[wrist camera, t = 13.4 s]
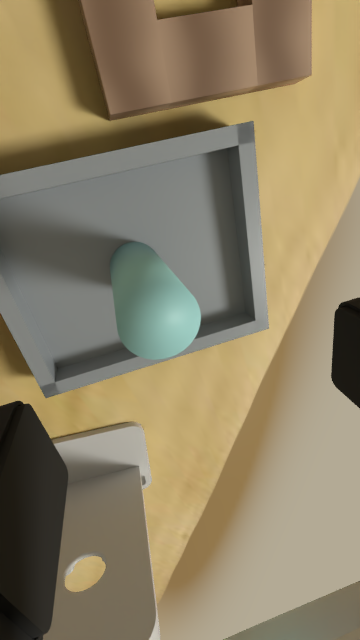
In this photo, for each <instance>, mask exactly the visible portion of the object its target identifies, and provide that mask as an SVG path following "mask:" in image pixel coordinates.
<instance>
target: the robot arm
mask: <svg viewBox="0 0 360 640" xmlns="http://www.w3.org/2000/svg"><path fill="white" fill-rule="evenodd" d="M331 378H332V381H333V383H334V385H335V386H336V387H337V388H338V389H339V390H340V391H341V392H342V393H343V394H344V395H345V396H347V397H348V398H349V399H350V400H351V401H352V402H353V403H354V404H355V405H357V406H358V407H359V408H360V298H356V299H352V300H349V301H346V302H343V303H341V304H340V305H339V308H338V309H337V310H336V311H335V318H334V339H333V356H332V373H331ZM67 486H68V470H67V466H66V464H65V463H64V461H63V459H62V457H61V456H60V454H59V452H58V451H57V449H56V447H55V445H54V444H53V442H52V440H51V439H50V437H49V435H48V434H47V432H46V430H45V428H44V427H43V425H42V423H41V422H40V420H39V418H38V416H37V415H36V413H35V411H34V410H33V408H32V406H31V405H30V404H23V402H21V401H16V402H12V403H9V404H6V405H2V406H0V640H43V635H44V634H46V633H48V631H49V630H50V627H51V623H52V616H53V608H54V599H55V590H56V582H57V573H58V564H59V555H60V547H61V538H62V529H63V520H64V512H65V503H66V494H67ZM223 640H360V581H358V582H356V583H354V584H351V585H349V586H347V587H344V588H342V589H340V590H337V591H335V592H333V593H330V594H328V595H326V596H323V597H321V598H319V599H316V600H314V601H312V602H309V603H307V604H305V605H302V606H300V607H298V608H295V609H293V610H291V611H288V612H286V613H284V614H281V615H279V616H277V617H275V618H272V619H270V620H267V621H265V622H263V623H260V624H258V625H256V626H253V627H251V628H249V629H246V630H244V631H242V632H239V633H237V634H235V635H233V636H231V637H228V638H226V639H223Z"/></svg>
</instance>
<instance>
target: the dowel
mask: <svg viewBox="0 0 360 640" xmlns="http://www.w3.org/2000/svg"><path fill="white" fill-rule="evenodd" d="M110 274H111V282H112V290H113V299H114V307H115V315H116V324H117V331H118V335H119V337H120V340H121V341H122V343H123V344H124V346H125V347H126V348H127V349H128V350H129V351H130V352H132V353H133V354H135V355H137V356H139V357H142V358H146V359H152V360H159V359H166V358H169V357H172V356H175V355H177V354H179V353H180V352H182V351H183V350H184V349H186V348H187V347H188V346H189V345H190V344H191V343H192V341H193V340H194V338H195V337H196V335H197V333H198V330H199V327H200V322H201V313H200V308H199V305H198V303H197V301H196V299H195V297H194V296H193V295H192V294H191V293H190V291H189V290H188V289H187V288H186V287H185V286H184V284H183V283H182V282H181V281H180V280H179V279H178V278H177V276H176V275H175V274H174V273H173V272H172V271H171V269H170V268H169V267H168V266H167V265H166V264H165V263H164V261H163V260H162V259H161V258H160V257H159V256H158V254H157V253H156V252H155V251H154V250H153V249H152V248H151V247H150V246H148V245H146V244H144V243H141V242H129V243H126V244H123V245H122V246H120V247H119V248H118V249H117V250H116V251H115V252H114V254H113V255H112V257H111V260H110Z"/></svg>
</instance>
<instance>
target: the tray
mask: <svg viewBox="0 0 360 640" xmlns="http://www.w3.org/2000/svg"><path fill="white" fill-rule="evenodd" d="M129 242H141V243H144V244H146V245H148V246H150V247H151V248H152V249H153V250H154V251H155V252H156V253H157V254H158V256H159V257H160V258H161V259H162V260H163V261H164V263H165V264H166V265H167V266H168V267H169V268H170V269H171V271H172V272H173V273H174V274H175V275H176V276H177V278H178V279H179V280H180V281H181V282H182V283H183V284H184V286H185V287H186V288H187V289H188V290H189V291H190V293H191V294H192V295H193V296H194V297H195V299H196V301H197V303H198V305H199V308H200V313H201V322H200V327H199V330H198V333H197V335H196V337H195V338H194V340H193V341H192V343H191V344H190V345H189V346H188V347H187V348H186V349H184V350H183V351H182V352H180V353H179V354H177V355H175V356H172V357H169V358H166V359H159V360H152V359H146V358H142V357H139V356H137V355H135V354H133V353H132V352H130V351H129V350H128V349H127V348H126V347H125V346H124V344H123V343H122V341H121V340H120V337H119V335H118V331H117V324H116V315H115V307H114V299H113V290H112V282H111V274H110V260H111V257H112V255H113V254H114V252H115V251H116V250H117V249H118V248H119V247H120V246H122V245H123V244H126V243H129ZM0 313H1V315H2V317H3V319H4V321H5V323H6V324H7V326H8V328H9V330H10V332H11V334H12V336H13V338H14V340H15V341H16V343H17V345H18V347H19V349H20V351H21V353H22V355H23V356H24V358H25V360H26V362H27V364H28V366H29V368H30V370H31V371H32V373H33V375H34V377H35V379H36V381H37V383H38V385H39V386H40V388H41V390H42V392H43V394H44V396H45V398H48V397H51V396H54V395H58V394H61V393H64V392H67V391H70V390H74V389H77V388H80V387H83V386H86V385H90V384H93V383H96V382H99V381H102V380H106V379H109V378H112V377H115V376H118V375H122V374H125V373H128V372H131V371H134V370H138V369H141V368H144V367H147V366H150V365H154V364H157V363H160V362H163V361H166V360H170V359H173V358H176V357H179V356H182V355H186V354H189V353H192V352H195V351H198V350H202V349H205V348H208V347H211V346H214V345H218V344H221V343H224V342H227V341H230V340H234V339H237V338H240V337H243V336H246V335H250V334H253V333H256V332H259V331H262V330H266V329H269V323H268V309H267V296H266V282H265V269H264V256H263V242H262V229H261V216H260V202H259V189H258V175H257V162H256V149H255V135H254V122H253V121H250V122H246V123H241V124H236V125H232V126H227V127H222V128H218V129H213V130H208V131H204V132H199V133H194V134H190V135H185V136H180V137H176V138H171V139H166V140H162V141H157V142H152V143H148V144H143V145H138V146H134V147H129V148H124V149H120V150H115V151H110V152H106V153H101V154H96V155H92V156H87V157H82V158H78V159H73V160H68V161H63V162H59V163H54V164H49V165H45V166H40V167H35V168H31V169H26V170H21V171H17V172H12V173H7V174H3V175H0Z"/></svg>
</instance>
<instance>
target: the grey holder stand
mask: <svg viewBox="0 0 360 640" xmlns="http://www.w3.org/2000/svg"><path fill="white" fill-rule="evenodd" d="M52 442H53V444H54V445H55V447H56V449H57V451H58V452H59V454H60V456H61V457H62V459H63V461H64V463H65V464H66V466H67V470H68V486H67V494H66V503H65V512H64V520H63V529H62V538H61V547H60V555H59V564H58V573H57V582H56V590H55V599H54V608H53V616H52V623H51V627H50V630H49V631H48V633H46V634H44V635H43V640H160V631H159V630H160V629H159V621H158V613H157V605H156V596H155V588H154V580H153V571H152V563H151V555H150V547H149V538H148V530H147V522H146V513H145V505H144V497H143V489H145V488H147V487H148V486H149V485H150V484H151V481H152V478H151V472H150V465H149V459H148V453H147V447H146V441H145V435H144V429H143V428H142V427H141V424H139V423H137V422H127V423H123V424H118V425H114V426H109V427H105V428H100V429H96V430H92V431H87V432H83V433H78V434H74V435H69V436H65V437H61V438H56V439H52ZM90 556H99V557H101V558H102V561H104V562H105V564H106V569H105V572H104V574H103V575H102V577H101V578H100V579H99V581H98V582H97V583H96V584H94V585H93V586H92V587H90V588H88V589H86V590H84V591H80V592H71V591H69V590H67V589H66V587H65V583H64V582H65V577H66V576H67V575H69V574H70V573H71V572H72V571H73V570H74V565H75V564H76V563H77V562H79V561H80V560H82V559H84V558H86V557H90Z"/></svg>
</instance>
